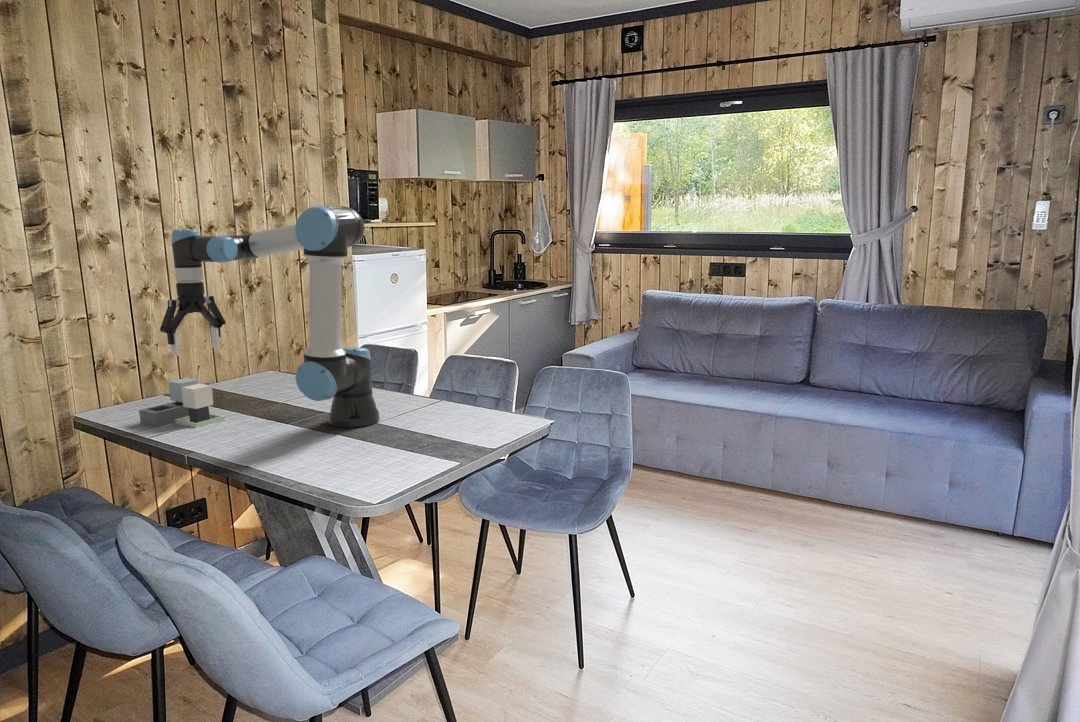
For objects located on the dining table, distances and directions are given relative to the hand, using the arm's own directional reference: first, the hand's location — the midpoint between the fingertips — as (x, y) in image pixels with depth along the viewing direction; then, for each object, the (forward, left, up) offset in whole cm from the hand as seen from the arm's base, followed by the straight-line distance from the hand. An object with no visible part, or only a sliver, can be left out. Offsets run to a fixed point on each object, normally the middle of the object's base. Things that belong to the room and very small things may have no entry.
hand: (196, 351), depth 230 cm
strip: (+7, +3, -22) cm, 23 cm away
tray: (-2, +2, -22) cm, 22 cm away
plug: (-2, +2, -21) cm, 21 cm away
